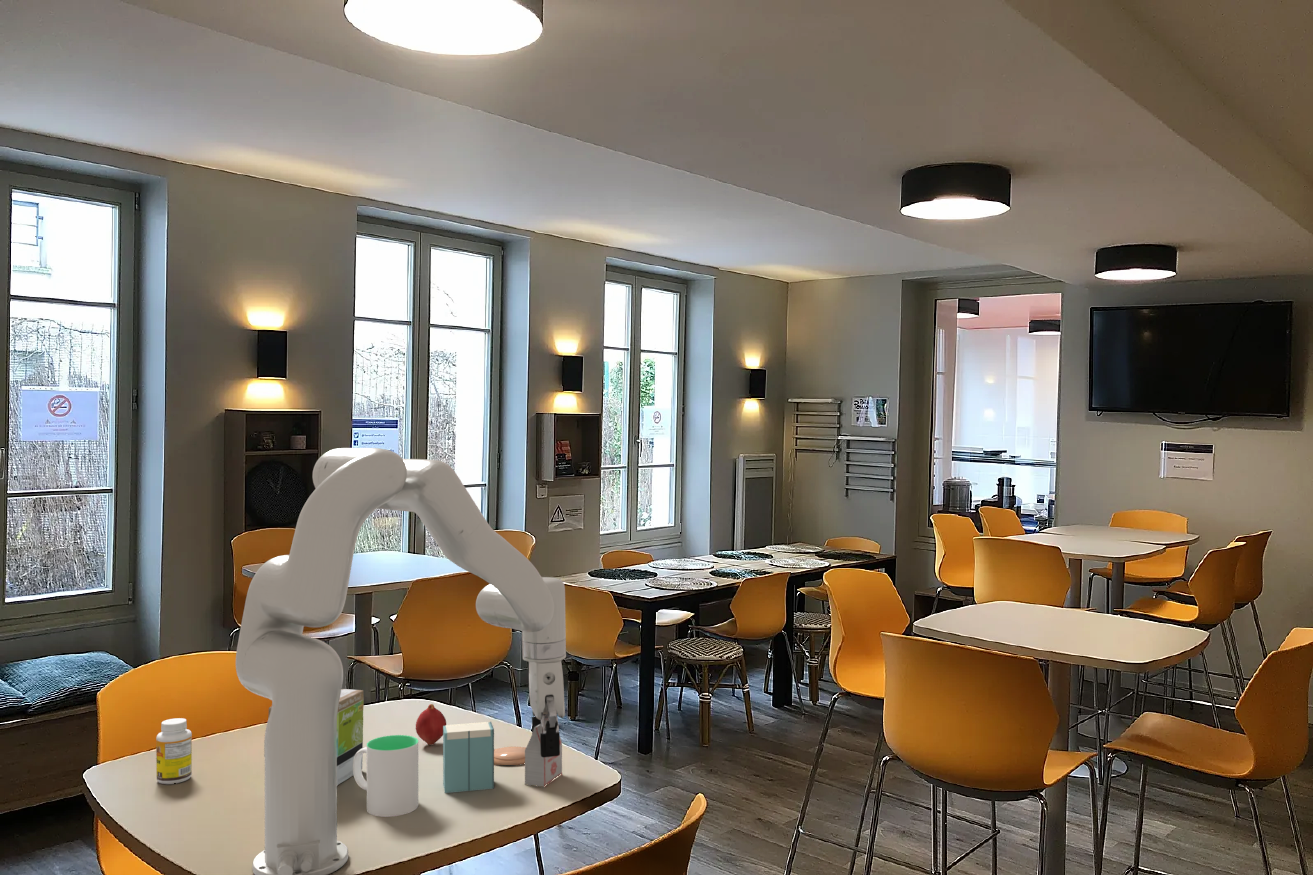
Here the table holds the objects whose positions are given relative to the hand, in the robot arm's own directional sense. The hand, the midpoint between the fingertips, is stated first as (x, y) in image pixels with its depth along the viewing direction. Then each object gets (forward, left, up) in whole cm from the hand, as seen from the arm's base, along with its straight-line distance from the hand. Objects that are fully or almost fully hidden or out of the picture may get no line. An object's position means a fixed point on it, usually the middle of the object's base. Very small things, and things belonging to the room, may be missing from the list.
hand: (545, 747), depth 173 cm
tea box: (+9, +38, -6) cm, 40 cm away
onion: (+25, +18, -6) cm, 31 cm away
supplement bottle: (+17, +62, -6) cm, 65 cm away
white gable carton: (0, 0, -6) cm, 6 cm away
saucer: (+13, +4, -6) cm, 15 cm away
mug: (-5, +27, -6) cm, 29 cm away
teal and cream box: (0, +13, -6) cm, 15 cm away
